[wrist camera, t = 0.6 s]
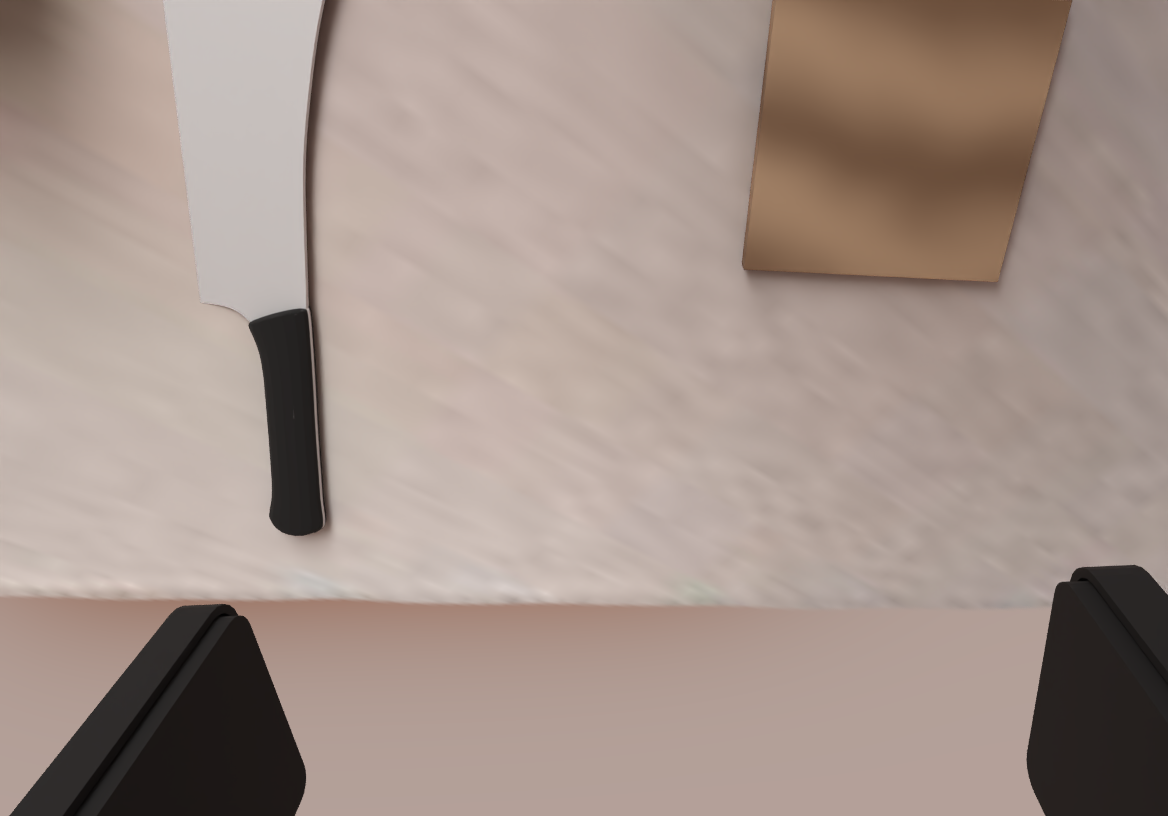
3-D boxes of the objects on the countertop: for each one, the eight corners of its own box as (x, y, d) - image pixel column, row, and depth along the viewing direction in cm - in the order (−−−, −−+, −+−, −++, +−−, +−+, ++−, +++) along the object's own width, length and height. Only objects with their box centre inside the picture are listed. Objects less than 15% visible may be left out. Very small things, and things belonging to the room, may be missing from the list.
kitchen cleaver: (84, -157, 31) (325, -127, 30) (116, -149, 33) (347, -120, 31) (172, 510, 45) (338, 549, 44) (191, 494, 47) (353, 531, 46)
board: (773, -8, 32) (776, -9, 31) (1060, 0, 31) (1072, 0, 30) (741, 263, 37) (744, 269, 36) (989, 275, 36) (997, 282, 35)
